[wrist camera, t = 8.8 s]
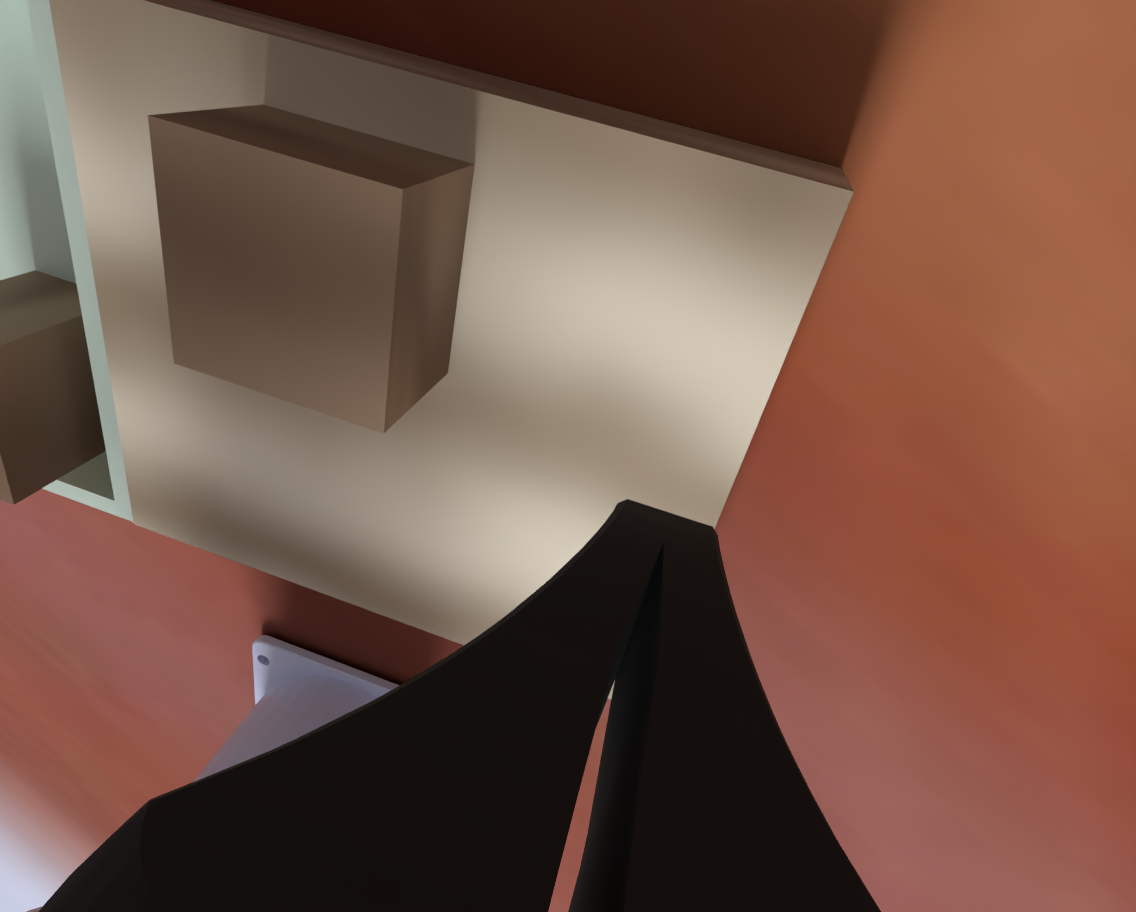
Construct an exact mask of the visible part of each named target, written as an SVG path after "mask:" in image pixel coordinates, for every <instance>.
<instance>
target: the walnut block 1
mask: <svg viewBox="0 0 1136 912" xmlns="http://www.w3.org/2000/svg"><path fill="white" fill-rule="evenodd" d="M105 451H106V448H105V443H104V437H103V431H102V426H101V420H100V414H99V409H98V403H97V397H96V392H95V386H94V380H93V375H92V369H91V363H90V358H89V352H88V346H87V341H86V335H85V329H84V324H83V318H82V312H81V306H80V301H79V295H78V289H77V284H76V283H73V282H70V281H66V280H63V279H60V278H57V277H54V276H51V275H48V274H45V273H42V272H39V271H36V270H35V271H31V272H28V273H24V274H21V275H17V276H14V277H10V278H7V279H3V280H0V499H1V500H3V501H6V502H9V503H11V504H16V503H18V502H19V501H21V500H23V499H24V498H26V497H28V496H30V495H31V494H33V493H35V492H36V491H38V490H40V489H42V488H43V487H45V486H47V485H48V484H50V483H52V482H54V481H55V480H57V479H59V478H60V477H62V476H64V475H66V474H67V473H69V472H71V471H72V470H74V469H76V468H78V467H79V466H81V465H83V464H85V463H86V462H88V461H90V460H91V459H93V458H95V457H97V456H98V455H100V454H102V453H103V452H105Z"/></svg>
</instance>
